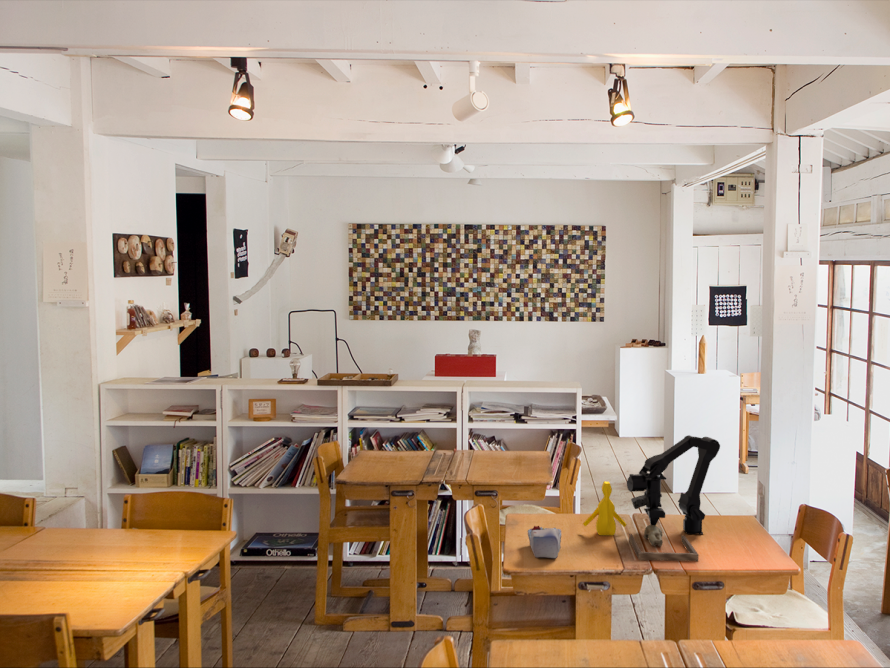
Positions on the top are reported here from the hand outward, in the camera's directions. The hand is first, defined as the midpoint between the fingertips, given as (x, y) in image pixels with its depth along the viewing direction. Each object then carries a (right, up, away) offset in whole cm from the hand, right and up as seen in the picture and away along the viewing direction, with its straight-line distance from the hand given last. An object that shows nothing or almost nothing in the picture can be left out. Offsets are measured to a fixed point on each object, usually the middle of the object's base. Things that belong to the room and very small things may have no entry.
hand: (652, 528), depth 302 cm
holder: (-1, -4, -17) cm, 18 cm away
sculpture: (-1, -3, -8) cm, 9 cm away
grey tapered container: (-45, -4, -18) cm, 49 cm away
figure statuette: (-19, -3, +1) cm, 19 cm away
